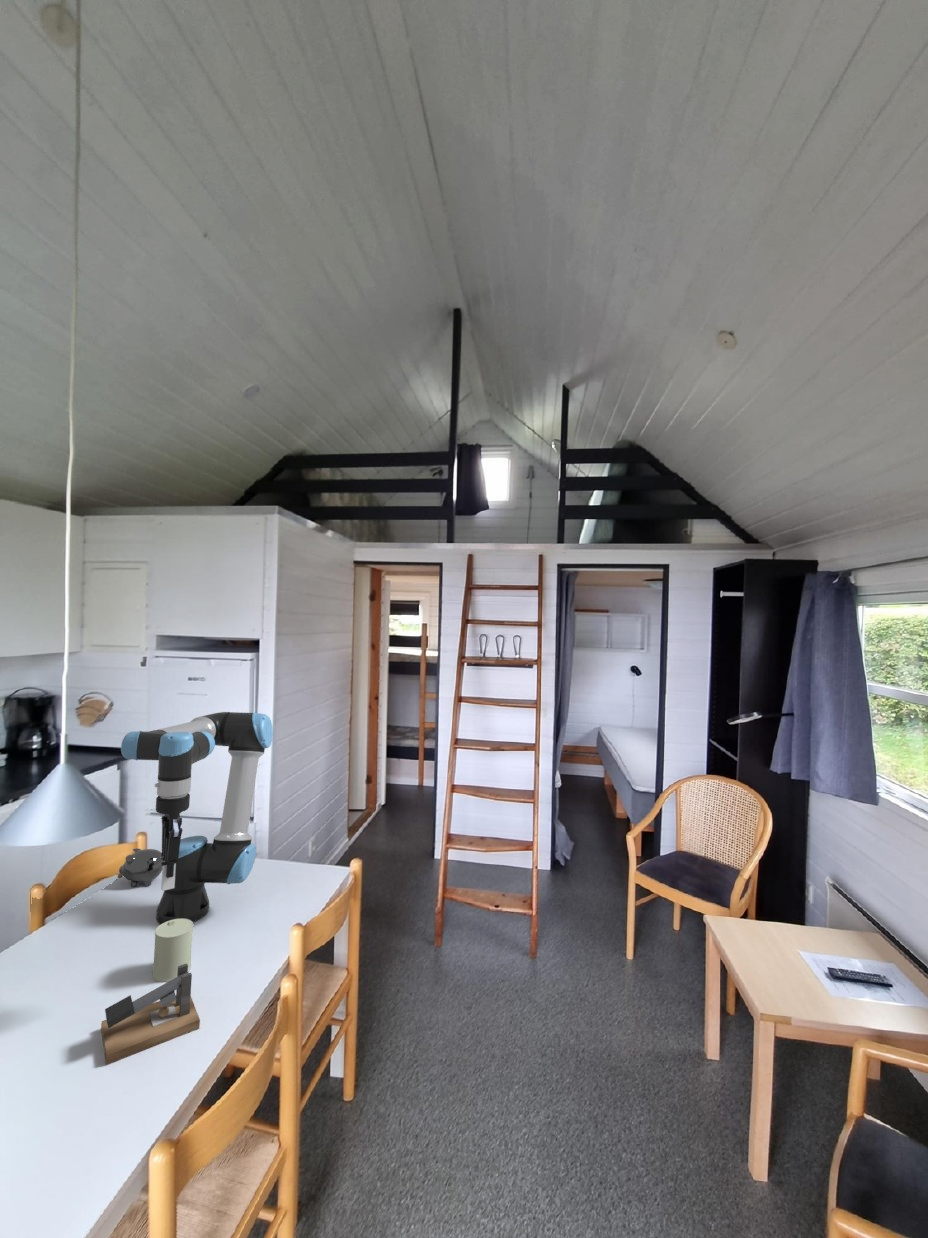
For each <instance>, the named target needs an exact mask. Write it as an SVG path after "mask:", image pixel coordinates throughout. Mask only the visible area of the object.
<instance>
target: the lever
mask: <svg viewBox="0 0 928 1238" xmlns="http://www.w3.org/2000/svg"><path fill="white" fill-rule="evenodd" d="M188 973H189V972H188V971H183V972H181V973H180V974H179V975H178V977H176V978H174V979H172V980H171V981H169V982H164V984H162V985H160V986H158V987H156V988H155V989H153V990H151V991H149V992H147V993H146V994H144V995H142V996H140V997H139V998H137V999H135V1000H133V999H132V995H131V994H130V995H128V996H126V997H124V998H123V999H121V1000H119V1001H117V1002H116V1003H113V1004H111V1005H110V1006H108V1007H107V1008H105V1009H104V1012H105V1020H107V1024H108V1028H110V1027H112V1026H114V1025H115V1024H117V1023H119V1022H121V1021H123V1020H124V1019H126V1018H128V1017H130V1016H131V1015H133V1014H135V1013H137V1012H138V1011H140V1010H142V1009H143V1008H145V1007H147V1006H149V1005H150V1004H152V1003H155V1002H158V1001H160V1002H161V1005H162V1008H163V1007H165V1006H167V1005H168V1004H170V1003H172V1002H173V1001H175V1000H177V999H176V993H175V992H176V990H177V989H178V988H180V987H181V976H182V975H185V974H188Z"/></svg>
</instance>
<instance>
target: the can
mask: <svg viewBox="0 0 928 1238" xmlns="http://www.w3.org/2000/svg"><path fill="white" fill-rule="evenodd" d="M193 931H194V922H192V921H191V920H189V919H174V920H170V921H167V922H165V923H163V924H160V925H158V926H157V927H156V928H155V931H154V949H153V950H154V953H153V968H152V974H151V977H152V979H153V980H154V981H157V982H160V983H167V982H169V981H171V980H172V979H174V978H176V977H177V973H178V966H180V965H183V964H186V963H187V964H188V973H190V972H191V971H190V970H191V969H192V948H193V947H192V946H193V945H192V944H193Z"/></svg>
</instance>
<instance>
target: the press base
mask: <svg viewBox="0 0 928 1238" xmlns="http://www.w3.org/2000/svg"><path fill="white" fill-rule="evenodd" d="M183 971H188V964H187V963H186V964H183V965H180V966H178V973H177V977H178V975H179V974H180V973H181V972H183ZM192 976H193V974H192V972H188V974H185V975H182V976H181V987H180V988H178V989H177V990H175V992H176V993H175V995H176V999H177V1000H175V1001H173V1002H172V1003H170V1004H168V1005H167V1006H165V1007H163V1008H162V1005H161V1002H160V1000H157V1001H156V1002H154V1003H152V1004H150V1005H149V1006H147V1007H145V1008H143V1009H142V1010H140V1011H138V1012H137V1013H135V1014H133V1015H131V1016H130V1017H128V1018H126V1019H124V1020H123V1021H121V1022H119V1023H117V1024H115V1025H114V1026H112V1027H110V1028H108V1024H107V1019H104V1020H102V1021H101V1023H100V1024H101V1027H100V1031H101V1038H102V1046H103V1053H104V1059H105V1066H107V1065H110V1064H114V1063H115V1062H118V1061H120V1060H123V1059H125V1058H128V1057H130V1056H133V1055H136V1054H138V1053H141V1052H143V1051H146V1050H148V1049H151V1048H153V1047H156V1046H159V1045H160V1044H161V1045H162V1044H163V1043H166V1042H168V1041H172V1040H174V1039H176V1038H178V1037H181V1036H183V1035H186V1034H189V1033H191V1032H193V1031H196V1030H198V1029H200V1024H201V1023H200V1022H201V1019H200V1017H199V1014H198V1012H197V1011H198V1010H197V1009H196V1006H195V1004H194V1003H195V1002H194V1001H193V998H192V996H191V995H192V980H193V979H192V978H193V977H192Z"/></svg>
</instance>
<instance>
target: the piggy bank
mask: <svg viewBox="0 0 928 1238" xmlns="http://www.w3.org/2000/svg"><path fill="white" fill-rule="evenodd" d="M132 851H133V853H131V854H128V855H127V856H126V857H125V862H124V864H122V865H121V866H120V867H119V869H118V873H119V874H120V875H122V876H123V877H124V879H126V880H127V881H129V882H130V887H131V888H136V887H137V886H138V884H140V883H144V887H146V888H147V887H150V886H151V885H152V882H153V881H154V880H155V879H157V878H158V877H159V876H160V875H161V874H162V868H163V866H162V865H161V863H162V862H165V861H163V860H162V858H163V856H162V855H161V853H162V851H161V850H158V849H155V848H146V849H141V848H138V847H137V848H135V847H134V848H133V849H132Z"/></svg>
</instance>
